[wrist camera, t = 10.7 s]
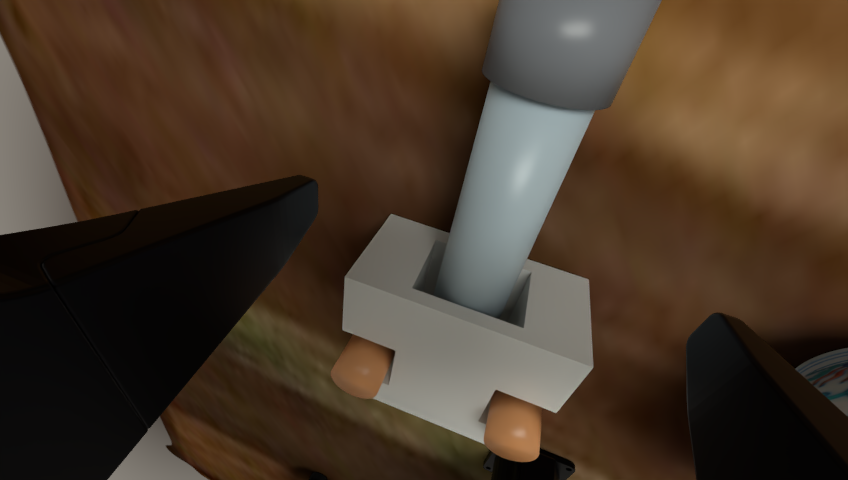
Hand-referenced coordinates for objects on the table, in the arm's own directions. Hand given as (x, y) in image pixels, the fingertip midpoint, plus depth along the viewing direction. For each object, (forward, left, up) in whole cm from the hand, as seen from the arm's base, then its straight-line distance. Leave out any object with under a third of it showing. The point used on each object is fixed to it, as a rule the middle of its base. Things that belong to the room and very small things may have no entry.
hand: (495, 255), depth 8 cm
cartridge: (-3, 0, -10) cm, 11 cm away
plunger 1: (-14, +4, -6) cm, 16 cm away
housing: (-13, 0, -11) cm, 17 cm away
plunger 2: (-14, -4, -6) cm, 16 cm away
